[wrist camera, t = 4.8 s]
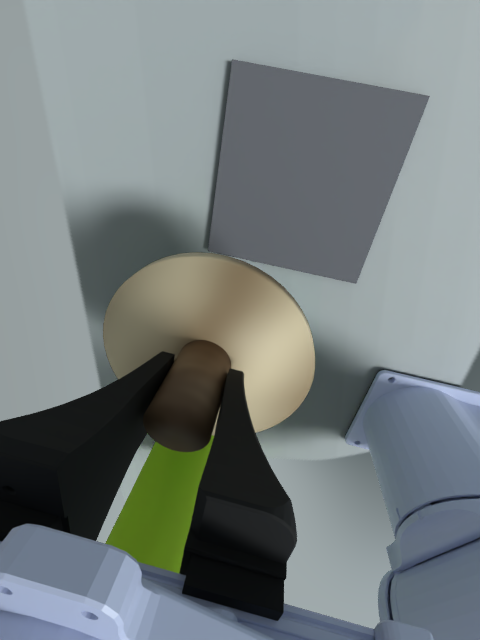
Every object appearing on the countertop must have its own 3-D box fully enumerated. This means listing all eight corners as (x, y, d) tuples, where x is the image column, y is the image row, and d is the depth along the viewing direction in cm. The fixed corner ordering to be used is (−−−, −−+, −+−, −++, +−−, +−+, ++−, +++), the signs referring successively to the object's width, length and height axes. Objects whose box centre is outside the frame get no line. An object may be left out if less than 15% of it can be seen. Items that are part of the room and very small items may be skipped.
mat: (426, 97, 15) (429, 96, 14) (354, 281, 19) (356, 283, 19) (233, 62, 15) (232, 59, 15) (209, 249, 20) (207, 251, 20)
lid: (349, 287, 12) (378, 355, 8) (280, 444, 17) (276, 533, 13) (109, 225, 12) (18, 260, 8) (113, 397, 18) (58, 471, 14)
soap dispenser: (197, 470, 31) (76, 866, 13) (150, 429, 29) (-62, 825, 11) (239, 451, 29) (160, 899, 11) (191, 405, 27) (5, 855, 9)
